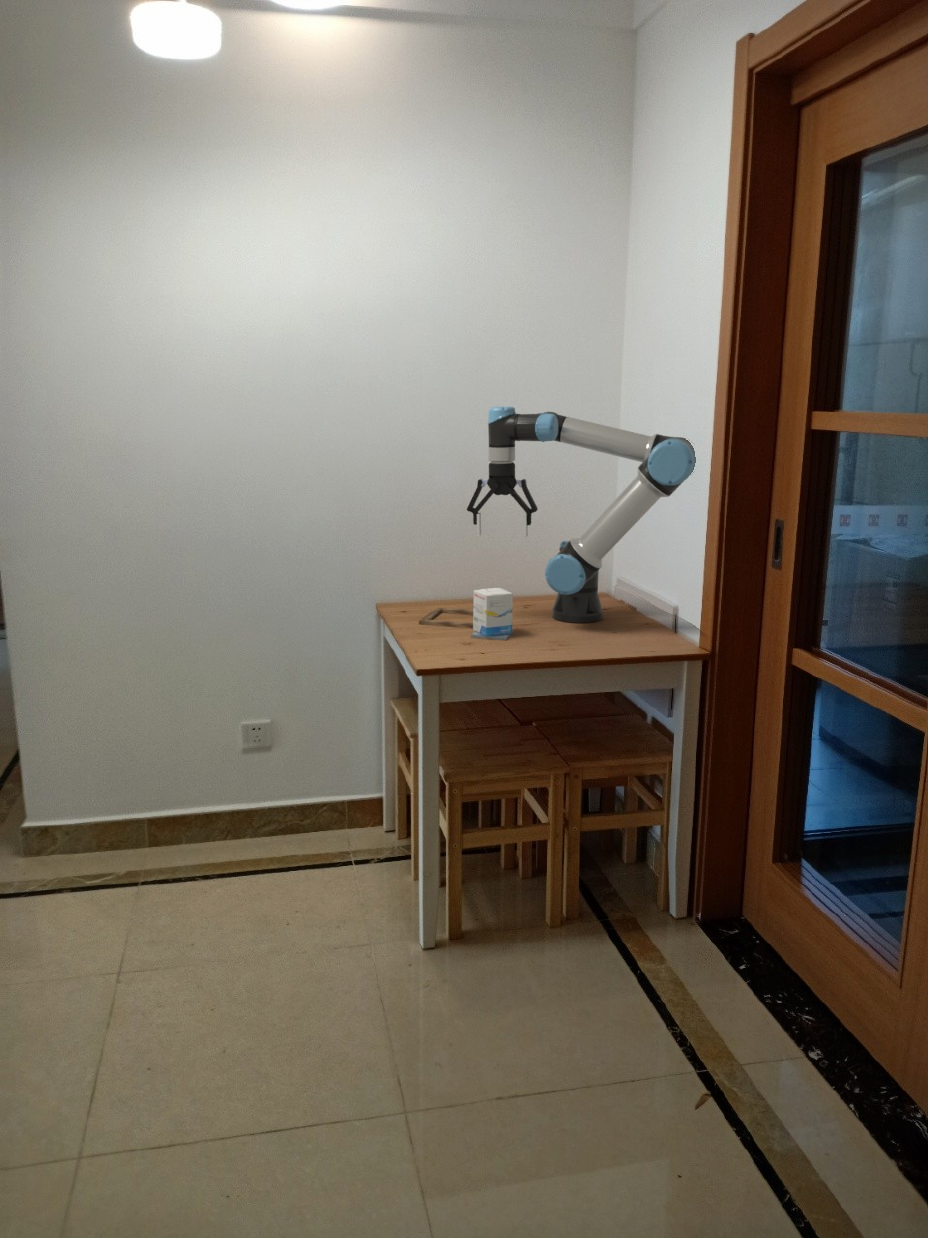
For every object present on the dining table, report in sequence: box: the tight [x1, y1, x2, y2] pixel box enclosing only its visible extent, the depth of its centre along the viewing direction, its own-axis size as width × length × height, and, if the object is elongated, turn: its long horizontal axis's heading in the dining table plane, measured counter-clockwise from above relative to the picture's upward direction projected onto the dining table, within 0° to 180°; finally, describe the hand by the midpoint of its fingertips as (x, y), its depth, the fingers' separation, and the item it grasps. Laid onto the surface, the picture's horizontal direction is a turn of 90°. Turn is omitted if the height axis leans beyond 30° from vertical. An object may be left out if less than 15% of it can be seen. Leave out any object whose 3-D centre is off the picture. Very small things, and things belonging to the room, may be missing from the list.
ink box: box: [472, 587, 514, 636], centre depth 283 cm, size 9×8×12 cm
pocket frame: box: [418, 607, 473, 629], centre depth 302 cm, size 18×18×1 cm
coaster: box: [470, 628, 515, 641], centre depth 284 cm, size 10×10×1 cm
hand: (502, 536), depth 293 cm, fingers open, 13 cm apart
